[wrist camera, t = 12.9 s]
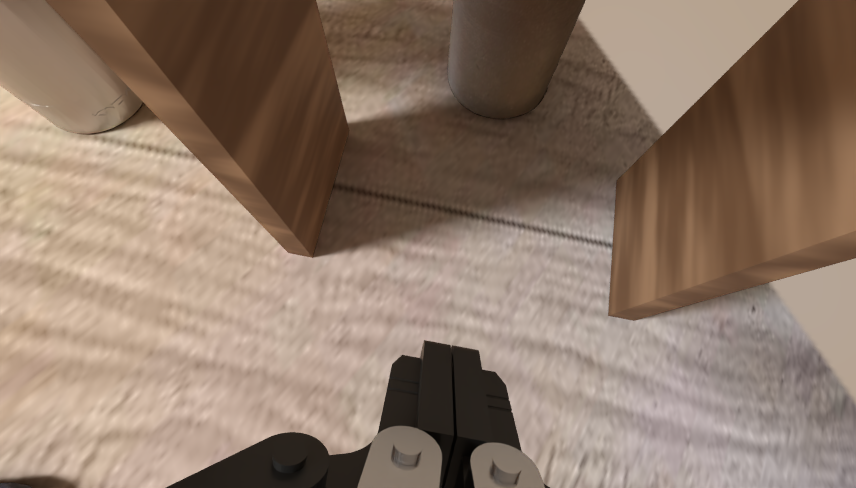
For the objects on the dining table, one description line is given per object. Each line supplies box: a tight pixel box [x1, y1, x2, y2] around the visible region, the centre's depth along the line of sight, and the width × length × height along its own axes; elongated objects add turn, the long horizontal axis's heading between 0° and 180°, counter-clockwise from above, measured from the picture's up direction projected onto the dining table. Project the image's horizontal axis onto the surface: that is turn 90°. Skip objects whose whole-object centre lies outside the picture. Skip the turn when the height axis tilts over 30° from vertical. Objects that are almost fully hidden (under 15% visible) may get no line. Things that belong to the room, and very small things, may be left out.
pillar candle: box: [447, 0, 585, 119], centre depth 34 cm, size 10×10×15 cm
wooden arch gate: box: [45, 0, 856, 321], centre depth 21 cm, size 28×12×32 cm, turn 79°
